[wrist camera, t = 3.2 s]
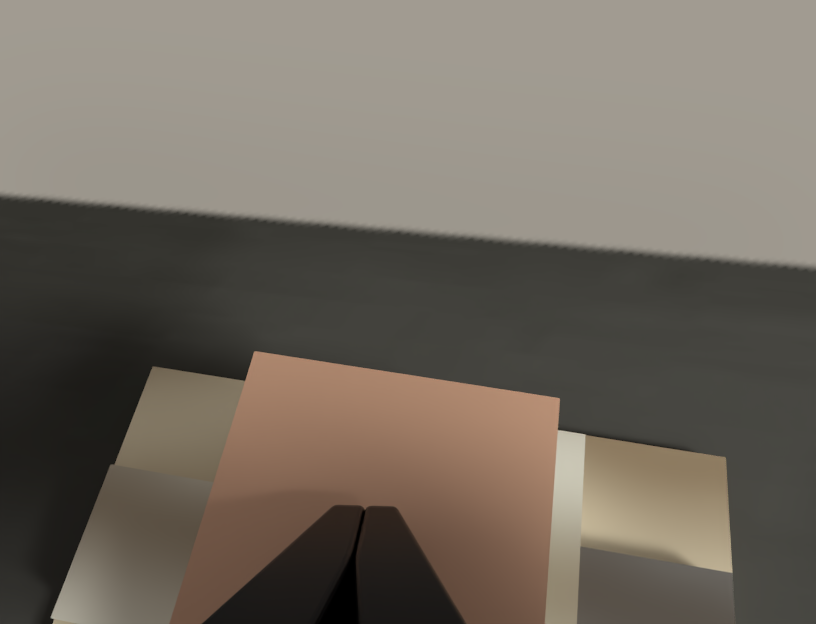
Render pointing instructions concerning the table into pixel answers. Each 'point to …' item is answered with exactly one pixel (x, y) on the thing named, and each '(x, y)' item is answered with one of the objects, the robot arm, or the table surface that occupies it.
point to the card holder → (570, 529)
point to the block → (384, 480)
